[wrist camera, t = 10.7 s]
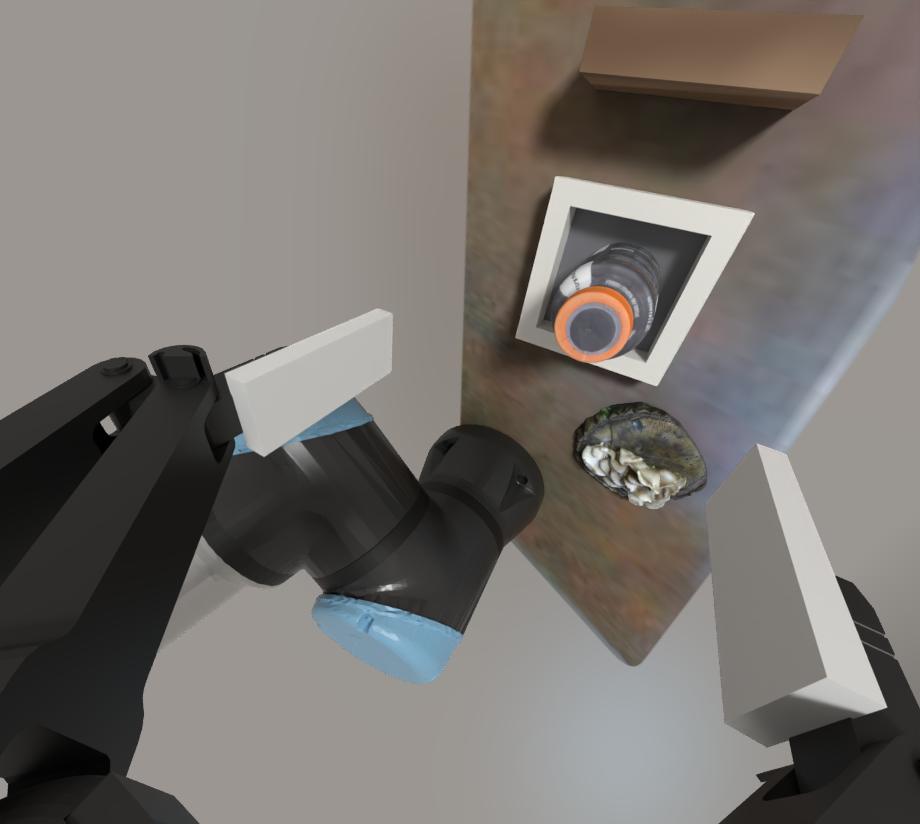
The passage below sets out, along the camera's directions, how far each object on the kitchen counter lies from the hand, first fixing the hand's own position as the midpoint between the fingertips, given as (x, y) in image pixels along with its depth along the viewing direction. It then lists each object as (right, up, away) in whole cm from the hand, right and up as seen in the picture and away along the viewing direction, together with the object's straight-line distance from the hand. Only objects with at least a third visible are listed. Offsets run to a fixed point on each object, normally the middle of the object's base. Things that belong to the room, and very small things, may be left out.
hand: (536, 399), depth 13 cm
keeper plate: (+9, +10, +15) cm, 20 cm away
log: (+14, -4, +21) cm, 26 cm away
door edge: (+11, +19, +7) cm, 23 cm away
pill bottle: (+9, +10, +15) cm, 20 cm away
